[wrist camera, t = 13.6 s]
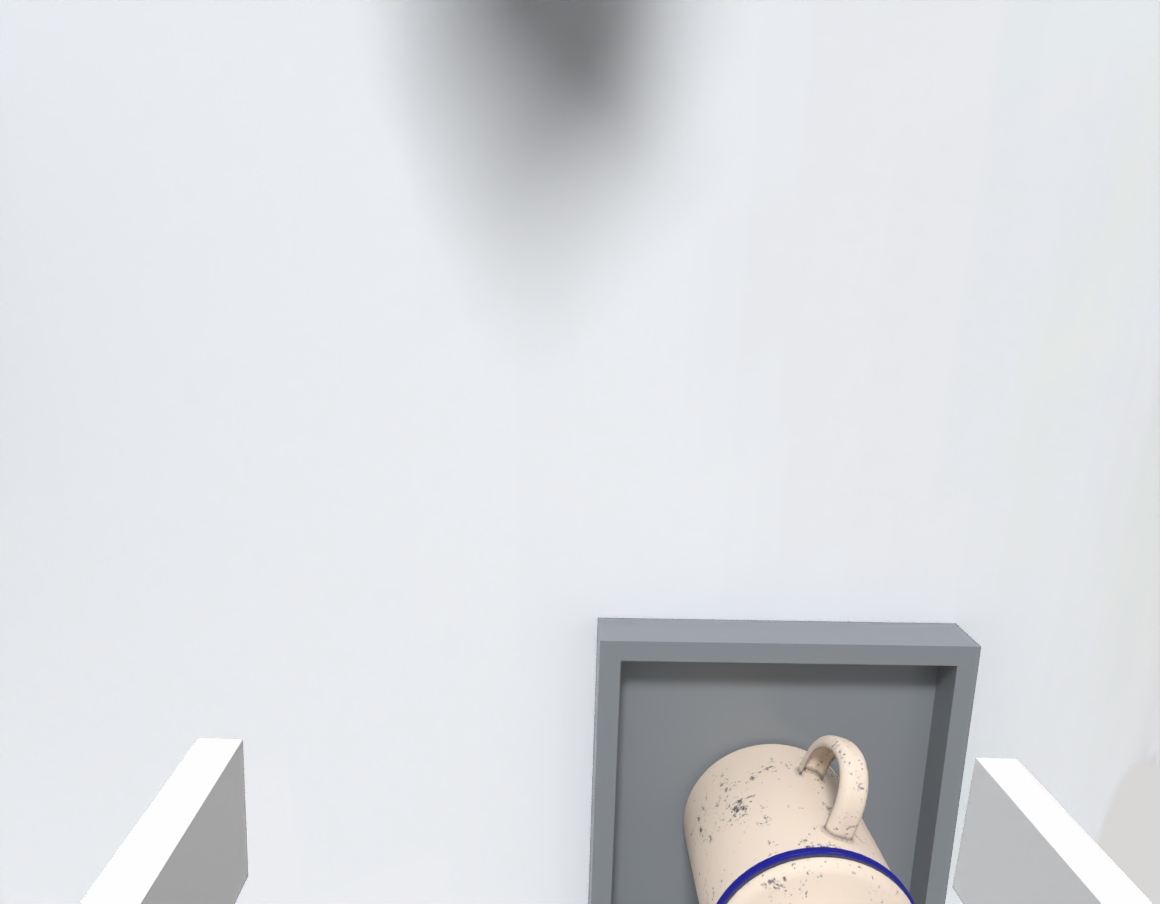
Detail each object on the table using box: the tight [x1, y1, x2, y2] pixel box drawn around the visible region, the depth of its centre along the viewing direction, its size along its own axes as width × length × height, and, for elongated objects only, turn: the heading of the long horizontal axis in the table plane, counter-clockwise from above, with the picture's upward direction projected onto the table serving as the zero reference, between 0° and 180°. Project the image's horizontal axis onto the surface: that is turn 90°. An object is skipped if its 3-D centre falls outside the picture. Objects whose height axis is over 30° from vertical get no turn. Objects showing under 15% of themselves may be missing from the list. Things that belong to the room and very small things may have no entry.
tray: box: [588, 618, 981, 904], centre depth 43 cm, size 18×18×3 cm
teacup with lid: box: [684, 735, 914, 904], centre depth 38 cm, size 12×9×12 cm
